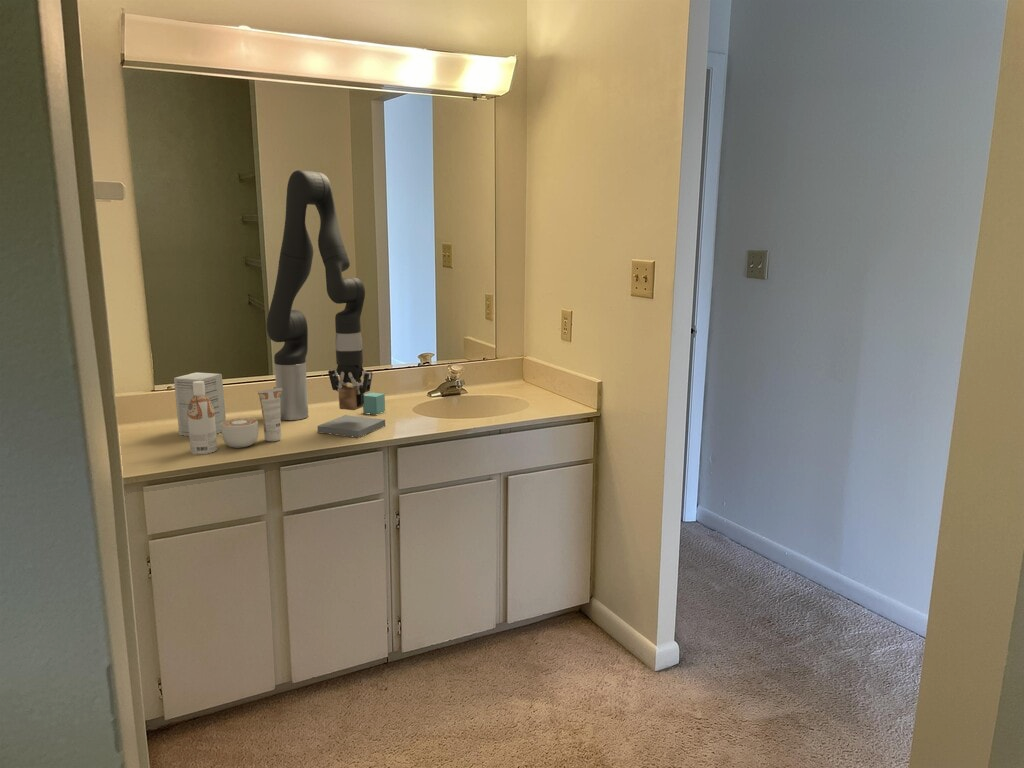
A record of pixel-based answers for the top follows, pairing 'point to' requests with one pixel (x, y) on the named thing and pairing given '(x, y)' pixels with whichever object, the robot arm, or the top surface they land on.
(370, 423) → the slate base
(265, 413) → the cosmetic set
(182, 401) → the supplement box
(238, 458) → the top surface
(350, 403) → the walnut block
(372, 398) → the teal block
